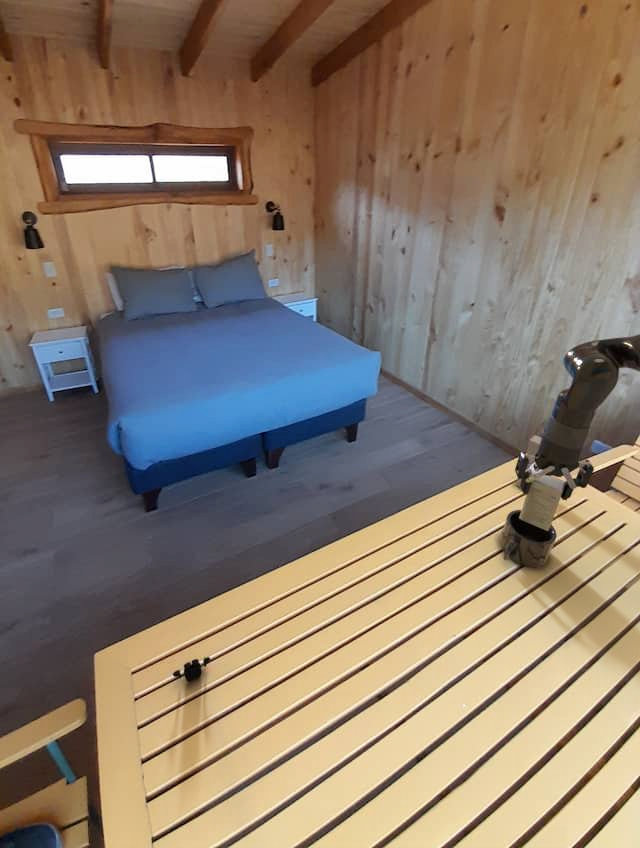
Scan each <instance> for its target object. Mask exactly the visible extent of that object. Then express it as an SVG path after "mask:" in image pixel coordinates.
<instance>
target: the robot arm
mask: <svg viewBox="0 0 640 848" xmlns="http://www.w3.org/2000/svg"><path fill="white" fill-rule="evenodd" d="M562 362H563V366H564V368H565V370H566V371H567V373H568V374H569V376H570V377H571V378H572V381H571V385H570V387H569V388H565V389H562V390H561V391H560V392H559V393H558V394H557V397H556V399H555V402H554V405H553V408H552V411H551V414H550V416H549V418H548V420H546V424H545V427H544V429H543V433H542V436H541V438H542V439H541V442H540V445H539V448H538V452H537V453H536V454H535V455H528V454H527V452H525V451H523V450H522V451H520V452H519V455H518V458H517V461H516V464H515V468H514V472H515V474H516V477H517V479H518V480H519V479H522V480H521V484H520V487H519V488H520V491H521V492H522V493H523V495H526V494H528V492H529V489H530V486H531V481H533V480H534V479H536V478H540V477H542V476H543V475H547V476H552V477H555V478H562V477H564V479H565V486H564V489H563V492H562V495H561V498H560V499H561V500H562V501H567V500H568V499H570V498H572V494H573V492H574V490H575V489H576V488H581V489H586V488H587V487H588V484H589V482H590V480H591V477H592V475H593V473H594V471H595V467H594V466H593V463H591V461H590V460H589V459H584V460H582V461H581V458H582V456H583V453H584V450H585V448H586V445H587V443H588V440H589V438H590V435H591V431H592V426H593V424H594V421H595V419H596V416H597V414H598V411H599V408H600V407H601V406H602V405H603V404H604V402H605V401H607V399H608V398H609V396H610V395H611V394H612V393H613V391H615V390H614V389H616V387H617V385H618V382H619V378H620V369H625V368H626V369H631V370H633V371H636V372H640V333H639V334H638V333H637V334H636V335H631V336H623V337H613V338H605V339H597V340H591V341H586V342H583V343H580V344H578V345H575V346H573V347H572V348H571V349H570V350H568V351H567V352H566V353H565V355H564V357H563V361H562ZM532 461H535V463H533V464H532V465H530V463H531V462H532ZM527 465H530V468H529V469H527V470H526V468H527ZM538 468H539V469H540V470H539V471H538V470H537V469H538ZM577 469H579V470H578V472H577V474H576V476H575V477H574V478H573V476H572V474H571V472H573V471H575V470H577Z"/></svg>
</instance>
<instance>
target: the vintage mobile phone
mask: <svg viewBox="0 0 640 848" xmlns="http://www.w3.org/2000/svg"><path fill="white" fill-rule="evenodd" d="M541 439H542V436H538V435H537V434H535V435H534V436H532V437H531V438H530V439H529V442H528V447H527V452H526V454H528V455H535V454H536V453H537V452H538V448H539V445H540V442H541ZM533 463H535V461H532V462H531V463H530V465H532V464H533ZM530 465H527V468H526V470H527V469H529V468H530ZM537 470H538V471H539V470H540V469H539V468H538V469H537ZM521 480H522V479H518V480H516V482H515V486H516V487H518V488H520V484H521Z"/></svg>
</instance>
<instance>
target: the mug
mask: <svg viewBox="0 0 640 848" xmlns="http://www.w3.org/2000/svg"><path fill="white" fill-rule="evenodd" d="M521 510H522V509H516V510H512V511H510V512H509V513H508V514H507V516H506V519H505V523H504V525H503V528H502V532H501V534H500V537H499V545H500V548H501V550H502V551H503V557H502V558H503V560H504V561H509V560H512V561H513V562H515V563H516V564H518V565H521V566H524V567H527V568H540V567H543V566H544V565H546V563H547V561H548V559H549V558H550V557H549V556H550V555H551V552H552V549H553V547H554V544H555V542H556V539H557V531H556V529H555V527H554V525H552V524H553V523H551V526H550V528H549V531H546V530H544V529H542V528H539V527H537V526H535V525H533V524H530V523H528V522H526V521H524V520H521V519H520V518H519V517H520V514H521Z"/></svg>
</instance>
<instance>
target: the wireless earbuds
mask: <svg viewBox="0 0 640 848" xmlns="http://www.w3.org/2000/svg"><path fill="white" fill-rule="evenodd" d="M210 661H211V657H210V656H207V657H204V658H203V659H202V662H203V666H204V668H207V667H208V666H207V664H209V663H210ZM202 674H203V671H202V665H201V663H200V662H199V659H198V658H194V659H192V660H191V661H187V662H186V663H184V664H183V676H184V678H185V681H186V682H191V681H193V680H195V679H198V678H200V677H201V676H202ZM172 676H173V677H174V678H179V679H181V678H182V673H181V670H180V669H177V670H175V671H173V672H172Z"/></svg>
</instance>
